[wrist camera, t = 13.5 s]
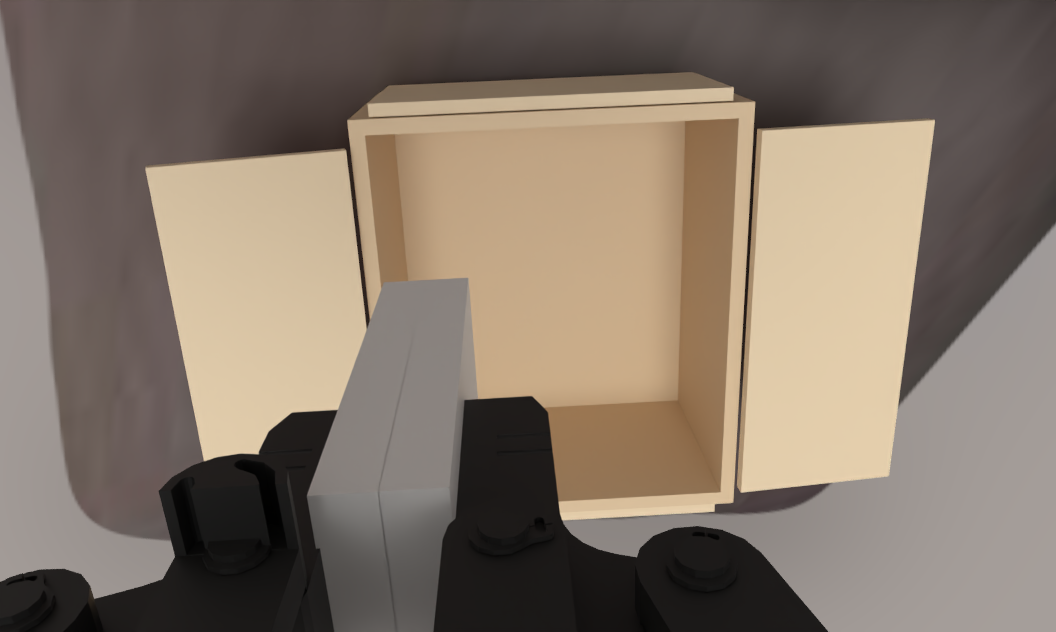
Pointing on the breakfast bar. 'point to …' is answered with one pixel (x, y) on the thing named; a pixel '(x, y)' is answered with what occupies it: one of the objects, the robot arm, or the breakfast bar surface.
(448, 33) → the breakfast bar surface
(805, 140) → the flap
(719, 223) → the carton
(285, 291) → the flap
